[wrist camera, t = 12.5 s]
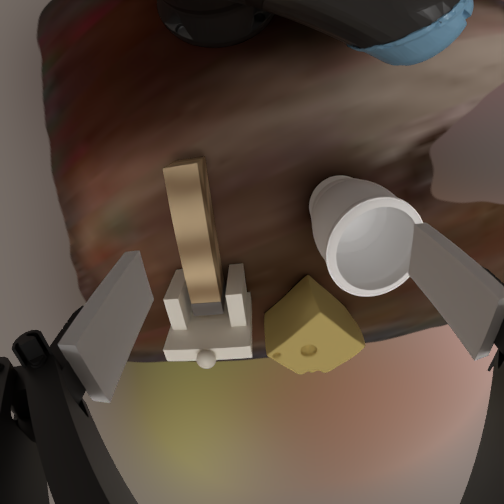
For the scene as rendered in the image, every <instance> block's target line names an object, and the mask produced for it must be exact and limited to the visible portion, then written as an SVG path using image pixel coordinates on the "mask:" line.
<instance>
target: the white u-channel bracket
mask: <svg viewBox="0 0 504 504" xmlns="http://www.w3.org/2000/svg"><path fill="white" fill-rule="evenodd" d="M163 300H164V303H165V307H166V310H167V313H168V316H169V319H170V323H171V327H170V330H169V333H168V336H167V339H166V343H165V346H164V349H163V351H164V354H165V356H166V359H167V361H197V363H198V365H199V366H200V367H202V368H205V369H208V368H211V367H213V366H214V364H215V362H216V360H222V359H239V358H252V301H251V293H250V292H247V289H246V281H245V274H244V267H243V263H241V264H231V265H229V271H228V278H227V286H226V294H225V305H224V313H223V314H218V315H203V316H194V314H193V311H192V307H191V300H190V296H189V292H188V288H187V284H186V280H185V276H184V272H183V269H177V270H176V271H175V274H174V276H173V278H172V281H171V283H170V285H169V288H168V290H167V292H166V295H165V297H164V299H163Z"/></svg>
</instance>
